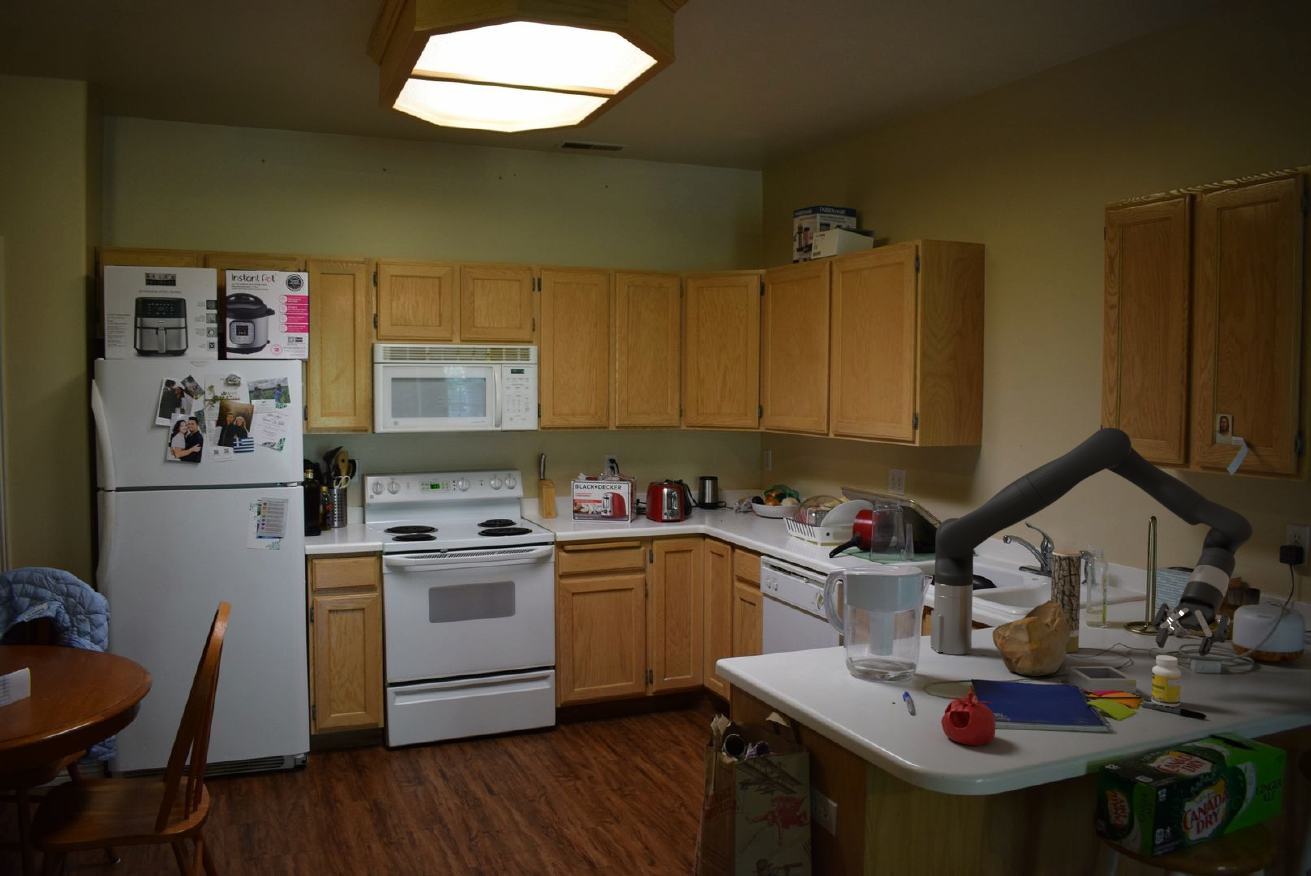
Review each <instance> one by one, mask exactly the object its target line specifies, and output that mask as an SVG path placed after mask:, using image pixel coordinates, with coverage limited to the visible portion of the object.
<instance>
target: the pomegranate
mask: <svg viewBox="0 0 1311 876" xmlns="http://www.w3.org/2000/svg"><path fill="white" fill-rule="evenodd" d="M960 697H962V698H963V699H961V698H959V697H957V696H956V697H954V696H953V697H951V699H954V700H952V701H950V702H949V704H947V706H946V708H945V709H944V715H943V716H942V717H941V721H940V723H941V727H942V730H943V733H944V735H945V736H946V737H948V739H950V740H952V741H954V742H956V743H958V744H961V745H962V744H963V745H967V746H974V745H975V746H977V745H979V746H981V745H986V744H990V743H991V742H992V741H993V740H994V738H995V736H996V715H995V714H994V712H993V711H992V709H991V708H989V707H988V706H987V705H986V704H993V703H994V702H989V701H986V700H984V701H983V700H982V701H975V699H976V698H979V697H978V696H977V695H976V694H975V695H974V691H972V690H969V691H968V692H967V697H966V696H965V695H964V694H961V695H960ZM984 703H986V704H984ZM980 744H981V745H980ZM975 746H974V747H975ZM977 747H978V746H977Z"/></svg>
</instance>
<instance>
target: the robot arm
mask: <svg viewBox="0 0 1311 876" xmlns="http://www.w3.org/2000/svg"><path fill="white" fill-rule="evenodd" d="M1104 470H1107V471H1110V472H1112V473H1114V474H1116V475H1117V476H1120V477H1122V478H1123V479H1125V480H1127V481H1128V482H1130V483H1131V484H1134V485H1135V486H1136V487H1138V489H1139V488H1140V490H1142V491H1144V492H1145V493H1146V494H1147V495H1149V496H1150V497H1152V498H1153V499H1154V500H1155V501H1157V503H1159V504H1160V505H1162V506H1163V507H1164V508H1165V509H1167V510H1168V511H1170V512H1171V513H1173V514H1174V515H1175V516H1177V517H1178V518H1179V519H1181V520H1183V522H1185V523H1187V524H1189V525H1191V526H1198V525H1199V524H1200V525H1201V524H1203V525H1205V526H1209V527H1210V528H1209V530H1208V531H1207V533H1206V535H1205V537H1204V540H1203V543H1202V544H1203V545H1202V549H1201V555H1200V556H1199V558H1198V561H1197V563H1196V565H1195V568H1194V569H1193V571H1192V573H1191V574H1190V576H1189V579H1188V581H1187V583H1186V586H1185V588H1184V590H1183V592H1182V593H1181V596H1180V600H1179V603H1178V604H1177V606H1175V607H1173V606H1169V605H1168V603H1166V602H1164V603H1162V604H1161V605H1160V607H1159V609H1158V611H1157V613H1156V615H1155V616H1154V618H1153V620H1152V624H1153V626H1154V628H1155V630H1156V631H1158V632H1157V634H1156V636H1155V643H1156V645H1157V646H1158V648H1160V649H1164V648H1165V645H1166V642H1167V641H1168V637H1169V634H1171V633H1173V632H1174V631H1177V632H1178V631H1179V630H1181V629H1184V630H1192V631H1195V632H1199V631H1203V633H1204V635H1205V636H1203V638H1202V640H1201V643H1200V645H1199V647H1198V651H1197V652H1198V655H1199V656H1200V657H1204V658H1205V657H1206V655H1209V654H1210V651H1211V649H1212V647H1213V644H1215V643H1220V644H1224V643H1225V642H1226V641H1227V638H1228V634H1229V631H1230V628H1231V625H1232V621H1231V619H1230V617H1229V616H1230V615H1229V614H1228V613H1222V614H1221V615H1220V614H1218V613H1219V611H1220V608H1221V606H1222V602H1223V600H1224V598H1225V597H1226V595H1227V591H1228V589H1229V588H1228V587H1229V583H1230V580H1231V578H1232V575H1233V572H1234V570H1235V567H1236V559H1235V557H1234V556H1235V554H1236V553H1237V551H1238V550H1239V549H1240V548H1241V547H1242V546H1243V545H1245V543H1247V542H1248V541H1249V540H1250V539H1251V537H1252V536H1253V535H1254V531H1253V530H1254V529H1253V526H1252V524H1251V523H1250V521H1249V519H1247V517H1246V516H1244V515H1243V514H1241V513H1240V512H1238V511H1235V510H1233V509H1231V508H1230V507H1226V506H1224V505H1222V504H1219V503H1217V502H1215V501H1211V500H1209V499H1207V498H1206V497H1205V496H1203V495H1202V494H1201V493H1199V492H1198V491H1197V490H1195V489H1194V488H1193V487H1191V486H1190V485H1188V484H1187V483H1185V482H1183V481H1182V480H1180V479H1179V478H1176V477H1175V476H1173V475H1171V474H1169V473H1167V472H1166V471H1164V470H1162V469H1160V468H1158V467H1157V466H1155V465H1154V464H1152V463H1151V462H1150V461H1148V460H1147V459H1145V458H1144V457H1143V456H1142V455H1141V454H1140V453H1139V452H1137V451H1136V450H1135V449H1134V448H1133V447H1132V442H1131V438H1130V437H1129V435H1128V434H1127V433H1126V432H1125V431H1124V430H1122V429H1119V428H1117V427H1104V428H1101V429H1099V430H1097V431H1095V433H1092V434H1091V435H1090V436H1089V437H1088V438H1087V439H1085V440H1084V441H1083V442H1081V443H1080V444H1079V445H1077V446H1076V447H1074V448H1072V449H1071V450H1070V451H1068V452H1066V453H1065V454H1063V455H1061V456H1060V457H1057V458H1055V459H1053V460H1051V461H1049V462H1047V463H1045V464H1042V465H1041V466H1038V467H1037V468H1036V469H1033V470H1032V471H1029V472H1027V473H1026V474H1023V475H1022V476H1021V477H1020V478H1017V479H1016V480H1014V481H1012V482H1011V483H1010V484H1008V485H1006V486H1005V487H1004V488H1002V489H1001V490H999V492H997V493H996V494H995V495H993V496H992V497H991V498H990V499H989V500H988V501H986V502H985V503H984V504H983V505H981V506H980V507H978V508H977V509H975V510H972V511H971V512H969V513H967V514H965V515H963V516H961V517H951V518H947V519H945V520H944V521H942V522H941V523H940V524H939V525H938V526H937V529H936V532H935V549H934V551H935V553H934V554H935V555H934V556H935V559H934V560H935V561H934V594H933V595H934V596H933V597H934V598H933V599H934V600H933V601H934V602H933V609H932V610H931V611H930V612H931V613H930V645H931V646H932V647H933V648H932V649H933V650H934V651H935V650H937V651H938V652H943V653H942V654H946V655H947V654H948V655H967V654H970V653H972V646H973V644H972V642H973V641H972V638H973V637H972V635H973V633H972V632H973V630H972V629H973V596H974V595H973V594H974V590H973V589H974V588H973V587H974V550H975V549H976V548H977V547H978V546H980V545H981V544H982V543H984V542H985V541H987V540H988V539H990V538H991V537H993V536H994V535H996V534H997V533H999V532H1001V531H1003V530H1005V529H1008V528H1009V527H1012V526H1014V525H1016V524H1018V523H1020V522H1023V521H1024V520H1026V519H1028V518H1030V517H1031V516H1034V515H1035V514H1037V513H1039V512H1041V511H1042V510H1044V509H1046V508H1047V507H1049V506H1051V505H1053V504H1054V503H1055V502H1057V501H1058V500H1060V499H1061V498H1062V497H1064V496H1065V495H1066V494H1067V493H1069V492H1070V491H1072V489H1073V488H1074V487H1076V486H1077V485H1079V484H1080V483H1081V482H1083V481H1084V480H1086V479H1087V478H1089V477H1091V476H1093V475H1095V474H1097V473H1099V472H1102V471H1104ZM1171 615H1172V616H1171ZM1177 621H1178V623H1176V622H1177ZM1216 622H1217V623H1218V625H1217V628H1216V632H1214V633H1212V631H1211V628H1210V627H1209V626H1211V625H1213V624H1214V623H1216ZM937 651H936V652H937ZM938 652H937V653H938Z"/></svg>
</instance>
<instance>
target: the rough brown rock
mask: <svg viewBox="0 0 1311 876" xmlns="http://www.w3.org/2000/svg"><path fill="white" fill-rule="evenodd" d="M992 641H993V643H994V646H995V647H996V649H997V651H999V653H1000V655H1001V658H1002V661H1003V664H1004V666H1005V667H1006V669H1008V671H1009V672H1010V673H1012V672H1015V673H1017V674H1018V675H1023V676H1028V675H1029V677H1037V676H1038V677H1039V676H1040V677H1041V676H1046V675H1052V674H1055V673H1056V671H1058V670H1059V669H1060V666H1062V664H1063V663H1064V661H1065V660H1066V658H1067V652H1066V645H1067V644H1068V643H1069V641H1070V629H1069V626H1068V623H1067V621H1066V618H1065V615H1064V612H1063V609H1062V606H1061V605H1060V604H1059V603H1055V602H1053V601H1052V600H1051V599H1049V600H1047V601H1046V602H1044V603H1043V604H1040V605H1039V604H1038V605H1037V606H1035V607H1034V608H1033V609H1031V610H1030V611H1029V612H1027V613H1026V615H1025V616H1024V617H1023V618H1021V619H1017V620H1013V621H1011V622H1010V621H1009V622H1005V623H1004V624H1001V625H998V626H997V627H995V629H994V630H993V631H992Z"/></svg>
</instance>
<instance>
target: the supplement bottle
mask: <svg viewBox="0 0 1311 876" xmlns="http://www.w3.org/2000/svg"><path fill="white" fill-rule="evenodd" d="M1155 663H1156V665H1155V666H1153V667H1152V669H1151V691H1150V692H1151V693H1150V695H1151V697H1150V698H1151V702H1152V703H1153V704H1155V705H1157V706H1160V705H1163V706H1162V707H1165V706H1169V707H1168V708H1173V707H1174V708H1175V707H1179V706H1180V705H1181V691H1182V690H1181V687H1182V685H1181V683H1182V672H1181V670H1180V669H1179V668H1178V667H1177V666H1178V658H1177V657H1176V656H1172V655H1165V654H1158V655H1156V657H1155Z"/></svg>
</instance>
